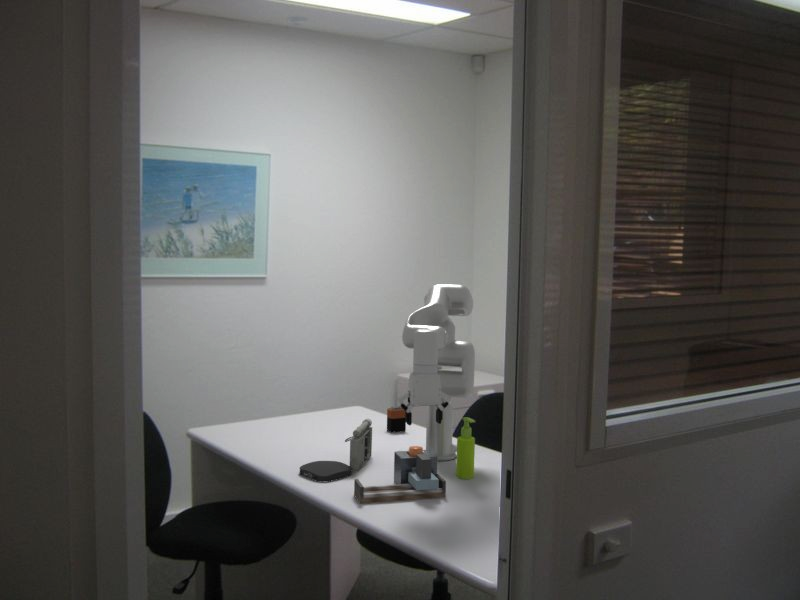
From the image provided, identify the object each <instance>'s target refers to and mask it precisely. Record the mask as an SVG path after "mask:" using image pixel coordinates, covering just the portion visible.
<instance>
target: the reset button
mask: <svg viewBox="0 0 800 600" xmlns="http://www.w3.org/2000/svg"><path fill="white" fill-rule="evenodd" d="M423 450H424V449H423V446H419V445H412V446H409V447H408V451H409V456H410V457H413V456H416V454H423Z"/></svg>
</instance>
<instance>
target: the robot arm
mask: <svg viewBox="0 0 800 600" xmlns="http://www.w3.org/2000/svg"><path fill="white" fill-rule="evenodd" d="M423 300H424V304H423V305H424V306H423V307H420V308H418V309H417V310H415V311H413V312H411V314H410V315H409V316H408V317H407V318H406V320H405V323H404V326H403V330H402V336H401V338H402V344H403V345H404V346H405V348H407V349H412V350H413V351H412V352H413V354H412V355H413V356H412V357H413V358H412V372H410V373H409V378H408V383H407V392H405V393H403V394H401V395H400V396H398V397H397V398H396V400H397V402H398V404H399V406H401V407H402V408H403V409H404V410H405V422H406V425H408V426H412V425H413V424H412V423H413V420H412V418H413V415H412V414H413V413H412V410H413V409H414V407H426V431H425V432H426V433H425V434H426V436H425V438H426V439H425V450H431V451H432V452H433V453H434V454H435V455H436V456H437V462H439V461H440V462H443V461H452V460H455V459H456V458H457V444H454V443H453V431H454V429H453V426H454V425H453V424H454V408H453V406H452V403H451V402H450V401H451V399H452V398H457V399H458V398H460V399H467V398H470V397H472V395H473V394H474V387H475V365H476V364H475V363H476V362H475V361H476V353H475V351H476V350H475V347H474V345H473V343H471V342H470V341H466V340H456V337H455V336H456V326H455V324H454V322H453V321H452V319H451V318H450V317H449V316H452V317H453V316H454V317H468V316H470V315H471V313H472V311H473V309H474V308H473V307H474V299H473V296H472V293H471V291H470V289H469V288H468V286H466V285H464V284H448V283H447V284H445V283H441V284H439V283H438V284H434V285H432V286H431V287H429V289H428V291H427V293H426V294H425V296H424V299H423ZM442 367H450V368H460V369H461V370H460V371H459V370H449V369H448V370H447V369H442ZM405 400H406V402H407V404H405V403H404V401H405Z"/></svg>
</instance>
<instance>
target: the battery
mask: <svg viewBox="0 0 800 600" xmlns="http://www.w3.org/2000/svg"><path fill="white" fill-rule="evenodd" d="M386 411H387V412H386V430H387V431H388V432H390V433H399V432H400V431H401V432H405V431H406V428H407V427H406V426H407V423H406V422H405V410H404V409H403V408H402V407H401V406H400V405H397V407H395V406H391V407H390V408H387V410H386ZM401 432H400V433H401Z"/></svg>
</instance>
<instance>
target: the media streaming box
mask: <svg viewBox="0 0 800 600" xmlns="http://www.w3.org/2000/svg"><path fill="white" fill-rule="evenodd" d="M352 472H353V471H352V468H351V467H350V465H348V464H346V463H345V462H341V461H336V460H316V461H312V462H311V461H310V462H308V463H304V464H302V465H301V466H300V467H299V475H301V476H303V477H304V478H307V479H310V480H312V479H313V481H315V480H316V482H319V481H322V482H321V483H324V482H323V481H328V482H332V481H331V480H333V481H337V480H340V478H341V479H344V477H345V478H348V477H350V476H352V474H353V473H352ZM347 476H348V477H347ZM336 479H337V480H336Z"/></svg>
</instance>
